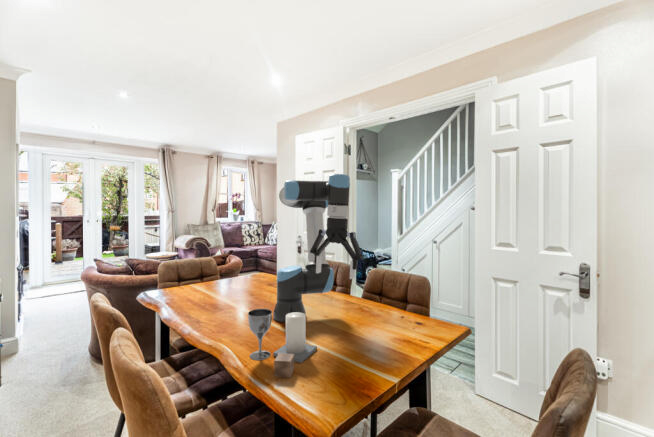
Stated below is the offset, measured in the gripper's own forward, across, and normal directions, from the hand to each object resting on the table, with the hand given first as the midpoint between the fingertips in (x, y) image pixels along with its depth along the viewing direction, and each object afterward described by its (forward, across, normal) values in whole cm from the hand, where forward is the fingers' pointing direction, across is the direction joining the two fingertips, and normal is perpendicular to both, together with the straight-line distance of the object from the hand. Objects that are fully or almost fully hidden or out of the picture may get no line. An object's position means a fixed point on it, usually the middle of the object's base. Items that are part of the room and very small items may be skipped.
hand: (334, 275), depth 112 cm
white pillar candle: (+26, -9, -11) cm, 29 cm away
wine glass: (+27, -18, -18) cm, 38 cm away
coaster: (+27, -9, -11) cm, 30 cm away
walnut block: (+27, -4, -24) cm, 36 cm away
